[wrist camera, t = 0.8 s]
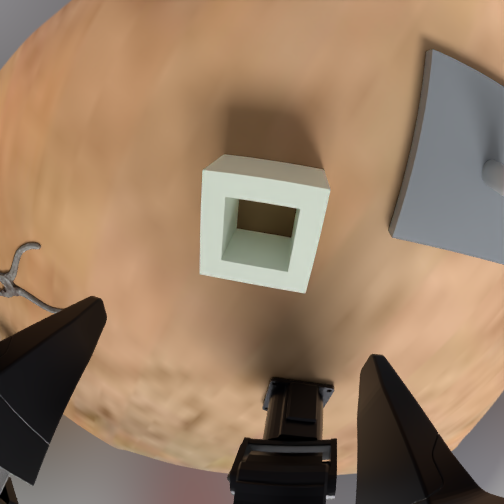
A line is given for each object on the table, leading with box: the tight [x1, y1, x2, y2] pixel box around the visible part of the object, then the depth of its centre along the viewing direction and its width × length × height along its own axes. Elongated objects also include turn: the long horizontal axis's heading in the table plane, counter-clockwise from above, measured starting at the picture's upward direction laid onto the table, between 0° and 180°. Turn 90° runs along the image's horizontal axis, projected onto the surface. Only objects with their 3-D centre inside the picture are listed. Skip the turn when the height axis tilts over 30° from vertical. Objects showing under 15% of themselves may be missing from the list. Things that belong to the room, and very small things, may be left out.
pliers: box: [0, 243, 61, 313], centre depth 28 cm, size 10×1×20 cm
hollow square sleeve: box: [200, 154, 330, 293], centre depth 16 cm, size 6×6×4 cm
